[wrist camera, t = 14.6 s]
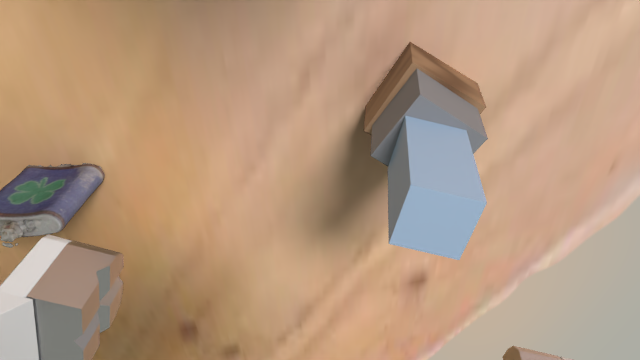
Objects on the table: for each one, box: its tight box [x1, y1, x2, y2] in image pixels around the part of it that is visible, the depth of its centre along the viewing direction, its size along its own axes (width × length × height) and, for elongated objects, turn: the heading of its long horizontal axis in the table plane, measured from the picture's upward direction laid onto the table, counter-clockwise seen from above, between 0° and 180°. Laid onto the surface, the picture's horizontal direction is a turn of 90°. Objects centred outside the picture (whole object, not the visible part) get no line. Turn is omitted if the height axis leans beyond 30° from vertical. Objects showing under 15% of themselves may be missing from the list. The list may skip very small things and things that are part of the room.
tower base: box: [364, 42, 486, 135], centre depth 46 cm, size 7×7×5 cm
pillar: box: [388, 116, 487, 260], centre depth 36 cm, size 4×4×9 cm
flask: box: [0, 163, 104, 248], centre depth 52 cm, size 9×3×11 cm, turn 95°
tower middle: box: [371, 69, 488, 166], centre depth 42 cm, size 6×6×5 cm
